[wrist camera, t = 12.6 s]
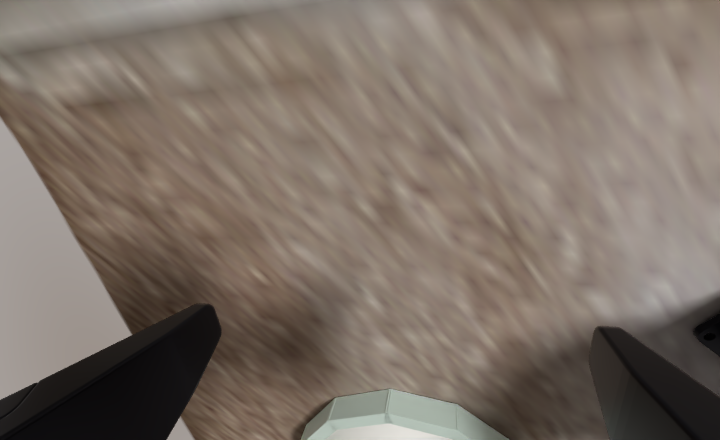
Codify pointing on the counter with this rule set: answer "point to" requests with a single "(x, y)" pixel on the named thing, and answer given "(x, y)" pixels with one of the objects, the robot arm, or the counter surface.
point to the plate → (396, 419)
